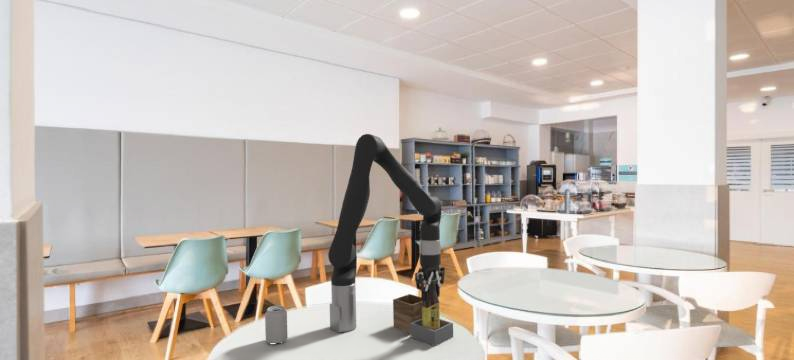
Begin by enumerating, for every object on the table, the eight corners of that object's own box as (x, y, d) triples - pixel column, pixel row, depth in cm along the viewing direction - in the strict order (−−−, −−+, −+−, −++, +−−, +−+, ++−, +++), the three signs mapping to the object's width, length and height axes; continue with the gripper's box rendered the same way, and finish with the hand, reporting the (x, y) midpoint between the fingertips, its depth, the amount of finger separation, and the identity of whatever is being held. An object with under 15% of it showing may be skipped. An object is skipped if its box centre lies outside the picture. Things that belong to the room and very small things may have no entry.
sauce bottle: (433, 340, 137) (432, 283, 136) (418, 335, 141) (417, 280, 140) (443, 333, 142) (442, 278, 142) (428, 329, 146) (427, 276, 145)
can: (267, 347, 136) (266, 312, 135) (264, 339, 142) (263, 306, 142) (289, 342, 139) (288, 309, 139) (285, 335, 146) (284, 303, 145)
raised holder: (413, 333, 144) (412, 305, 144) (393, 326, 152) (393, 299, 151) (429, 326, 151) (428, 299, 151) (410, 320, 158) (409, 294, 158)
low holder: (434, 346, 134) (434, 331, 134) (410, 336, 142) (410, 323, 142) (453, 336, 141) (452, 323, 141) (429, 328, 149) (429, 315, 149)
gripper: (435, 247, 149) (435, 292, 149) (408, 253, 138) (409, 301, 139) (450, 250, 143) (451, 296, 143) (424, 256, 133) (425, 306, 133)
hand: (430, 298), depth 141 cm, fingers closed on sauce bottle, 5 cm apart
